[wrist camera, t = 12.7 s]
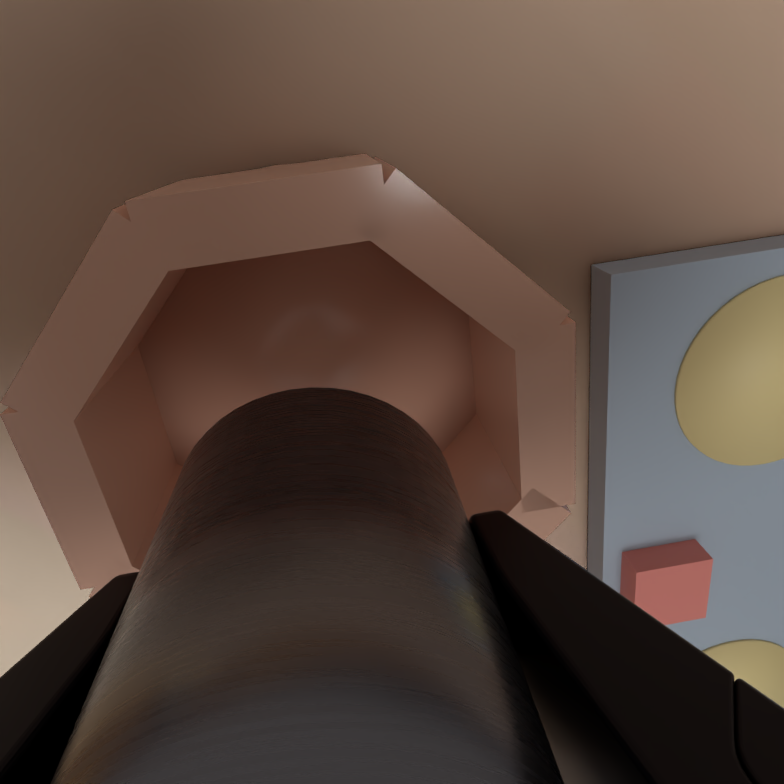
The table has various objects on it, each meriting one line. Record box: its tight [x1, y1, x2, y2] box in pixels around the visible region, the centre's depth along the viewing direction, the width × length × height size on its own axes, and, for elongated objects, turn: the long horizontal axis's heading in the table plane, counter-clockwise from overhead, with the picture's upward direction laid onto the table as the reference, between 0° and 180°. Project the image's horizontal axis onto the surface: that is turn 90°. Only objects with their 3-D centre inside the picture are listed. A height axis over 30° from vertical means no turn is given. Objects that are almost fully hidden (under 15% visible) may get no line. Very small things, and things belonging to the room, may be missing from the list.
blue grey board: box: [587, 235, 784, 708], centre depth 16 cm, size 8×18×2 cm, turn 7°
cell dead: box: [51, 387, 564, 784], centre depth 5 cm, size 4×4×8 cm
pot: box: [0, 154, 576, 598], centre depth 12 cm, size 9×9×4 cm
